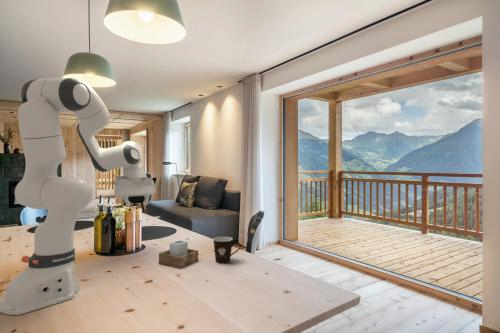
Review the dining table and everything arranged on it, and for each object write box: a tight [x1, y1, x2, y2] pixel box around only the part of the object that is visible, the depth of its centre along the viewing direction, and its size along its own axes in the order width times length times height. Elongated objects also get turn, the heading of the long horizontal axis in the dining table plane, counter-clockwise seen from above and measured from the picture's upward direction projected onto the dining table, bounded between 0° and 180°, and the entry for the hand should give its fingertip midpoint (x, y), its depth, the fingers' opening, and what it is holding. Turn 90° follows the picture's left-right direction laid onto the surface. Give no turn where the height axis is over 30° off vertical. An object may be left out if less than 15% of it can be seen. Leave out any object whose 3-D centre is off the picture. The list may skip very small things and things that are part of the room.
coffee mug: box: [213, 236, 242, 264], centre depth 137 cm, size 12×9×10 cm
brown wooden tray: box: [158, 248, 199, 269], centre depth 136 cm, size 12×12×4 cm
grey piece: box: [169, 239, 189, 257], centre depth 136 cm, size 6×5×8 cm
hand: (137, 205), depth 141 cm, fingers open, 8 cm apart
